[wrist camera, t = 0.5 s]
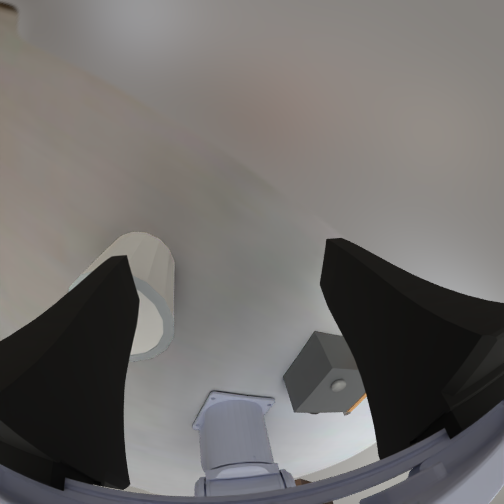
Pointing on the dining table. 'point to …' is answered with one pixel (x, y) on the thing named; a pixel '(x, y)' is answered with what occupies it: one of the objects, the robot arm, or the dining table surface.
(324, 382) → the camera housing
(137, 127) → the dining table surface
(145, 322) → the white cup
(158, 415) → the dining table surface
